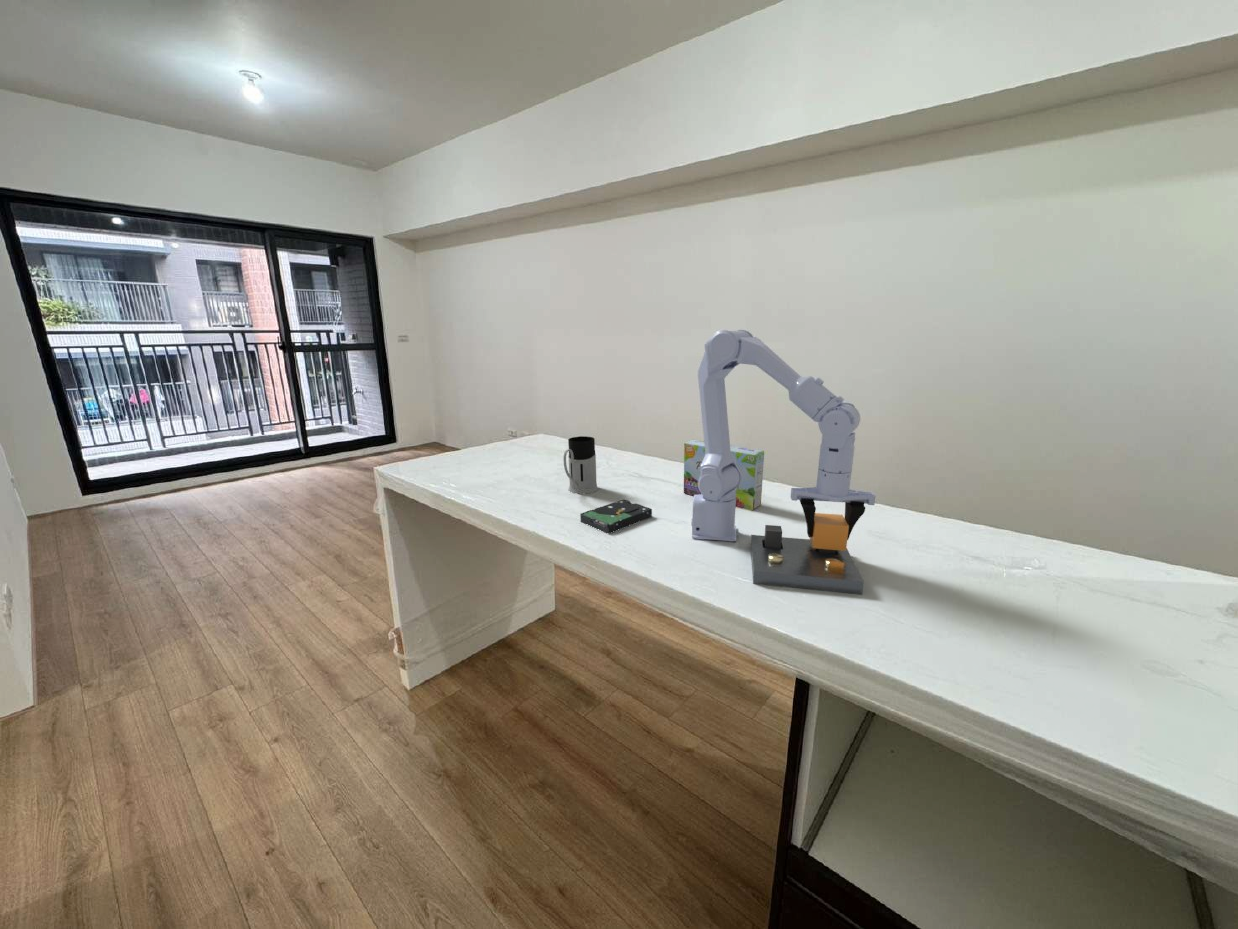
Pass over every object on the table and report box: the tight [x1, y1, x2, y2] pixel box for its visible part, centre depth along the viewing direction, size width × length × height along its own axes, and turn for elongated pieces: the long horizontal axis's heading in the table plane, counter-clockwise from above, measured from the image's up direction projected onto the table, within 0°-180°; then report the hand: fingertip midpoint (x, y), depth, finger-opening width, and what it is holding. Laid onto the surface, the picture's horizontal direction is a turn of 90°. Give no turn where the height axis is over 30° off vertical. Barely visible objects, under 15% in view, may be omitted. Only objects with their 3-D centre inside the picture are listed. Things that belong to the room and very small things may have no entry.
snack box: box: [683, 439, 765, 512], centre depth 126 cm, size 21×6×15 cm, turn 49°
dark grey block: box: [816, 548, 836, 554], centre depth 92 cm, size 3×3×4 cm
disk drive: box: [580, 498, 653, 534], centre depth 115 cm, size 10×3×15 cm
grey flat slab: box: [750, 534, 865, 595], centre depth 90 cm, size 18×16×4 cm
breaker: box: [764, 524, 783, 549], centre depth 94 cm, size 3×3×4 cm
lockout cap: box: [808, 512, 849, 551], centre depth 91 cm, size 6×6×5 cm
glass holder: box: [563, 435, 599, 495], centre depth 134 cm, size 9×14×15 cm, turn 156°
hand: (827, 536), depth 91 cm, fingers closed on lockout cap, 6 cm apart
